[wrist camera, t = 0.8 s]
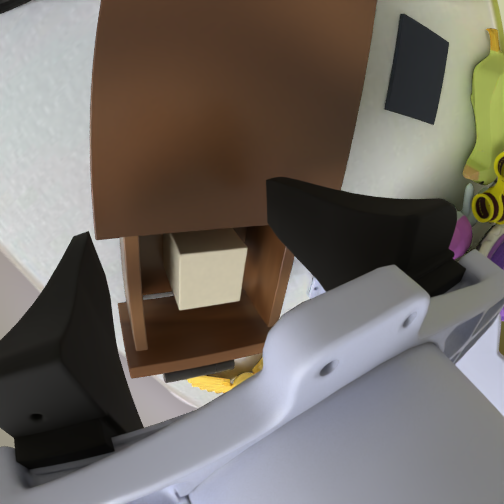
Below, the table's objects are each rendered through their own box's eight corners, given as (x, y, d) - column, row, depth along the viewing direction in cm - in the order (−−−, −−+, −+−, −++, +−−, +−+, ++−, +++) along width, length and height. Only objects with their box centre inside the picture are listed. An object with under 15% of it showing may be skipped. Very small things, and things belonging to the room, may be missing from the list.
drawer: (240, 328, 32) (271, 380, 26) (125, 347, 27) (138, 410, 22) (272, 133, 22) (328, 160, 17) (106, 132, 17) (104, 160, 12)
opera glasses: (496, 141, 27) (526, 167, 24) (514, 148, 28) (540, 173, 25) (461, 205, 34) (485, 233, 30) (481, 206, 35) (503, 232, 32)
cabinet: (267, 172, 25) (333, 221, 18) (98, 178, 19) (95, 240, 13) (297, -19, 17) (381, -38, 10) (119, -46, 12) (130, -107, 5)
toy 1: (490, 42, 18) (481, 205, 31) (536, 36, 20) (529, 161, 33) (439, 31, 23) (444, 183, 36) (498, 25, 25) (498, 144, 38)
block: (215, 259, 25) (240, 301, 21) (163, 265, 23) (179, 311, 19) (219, 211, 22) (248, 247, 19) (163, 215, 21) (179, 254, 17)
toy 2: (474, 151, 35) (412, 208, 34) (509, 169, 31) (452, 235, 30) (469, 213, 44) (414, 270, 43) (497, 232, 39) (443, 295, 38)
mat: (430, 123, 29) (434, 125, 29) (383, 109, 26) (387, 110, 25) (445, 42, 24) (449, 42, 24) (400, 13, 21) (404, 13, 20)
